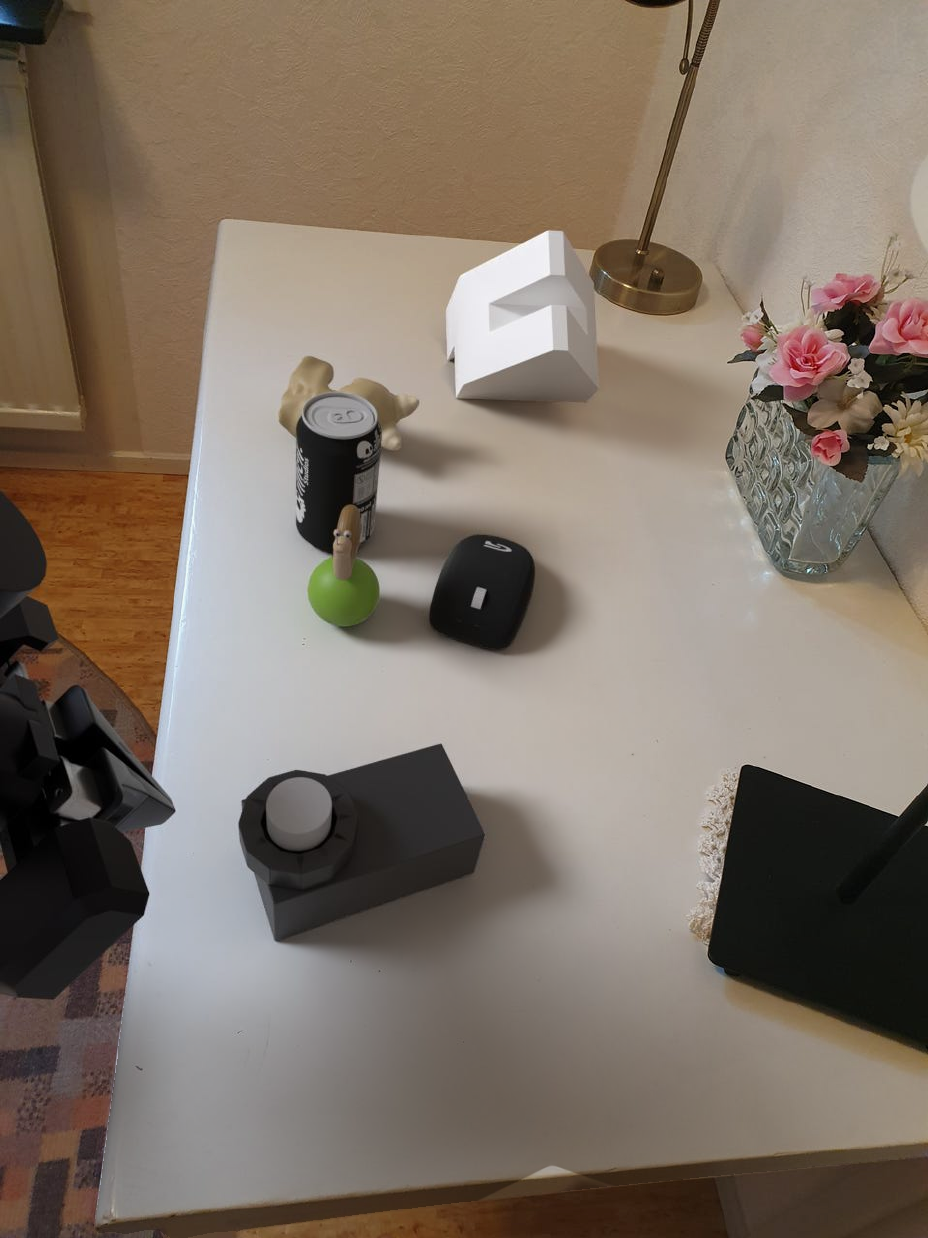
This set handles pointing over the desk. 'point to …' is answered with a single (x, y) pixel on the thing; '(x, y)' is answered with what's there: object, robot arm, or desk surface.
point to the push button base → (365, 841)
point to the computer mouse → (483, 591)
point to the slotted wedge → (525, 325)
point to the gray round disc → (298, 814)
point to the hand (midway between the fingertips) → (167, 812)
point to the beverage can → (336, 465)
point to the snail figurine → (344, 577)
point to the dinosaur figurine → (319, 374)
